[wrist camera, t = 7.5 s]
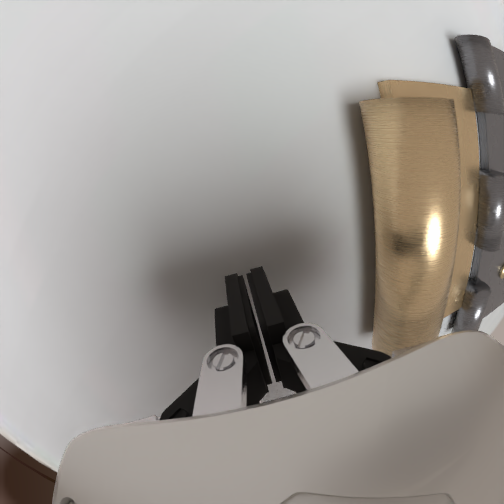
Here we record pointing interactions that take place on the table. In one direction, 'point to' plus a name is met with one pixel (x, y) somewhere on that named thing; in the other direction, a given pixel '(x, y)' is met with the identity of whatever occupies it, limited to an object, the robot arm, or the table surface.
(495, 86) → the steel hinge leaf
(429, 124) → the bronze hinge leaf
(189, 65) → the table surface
